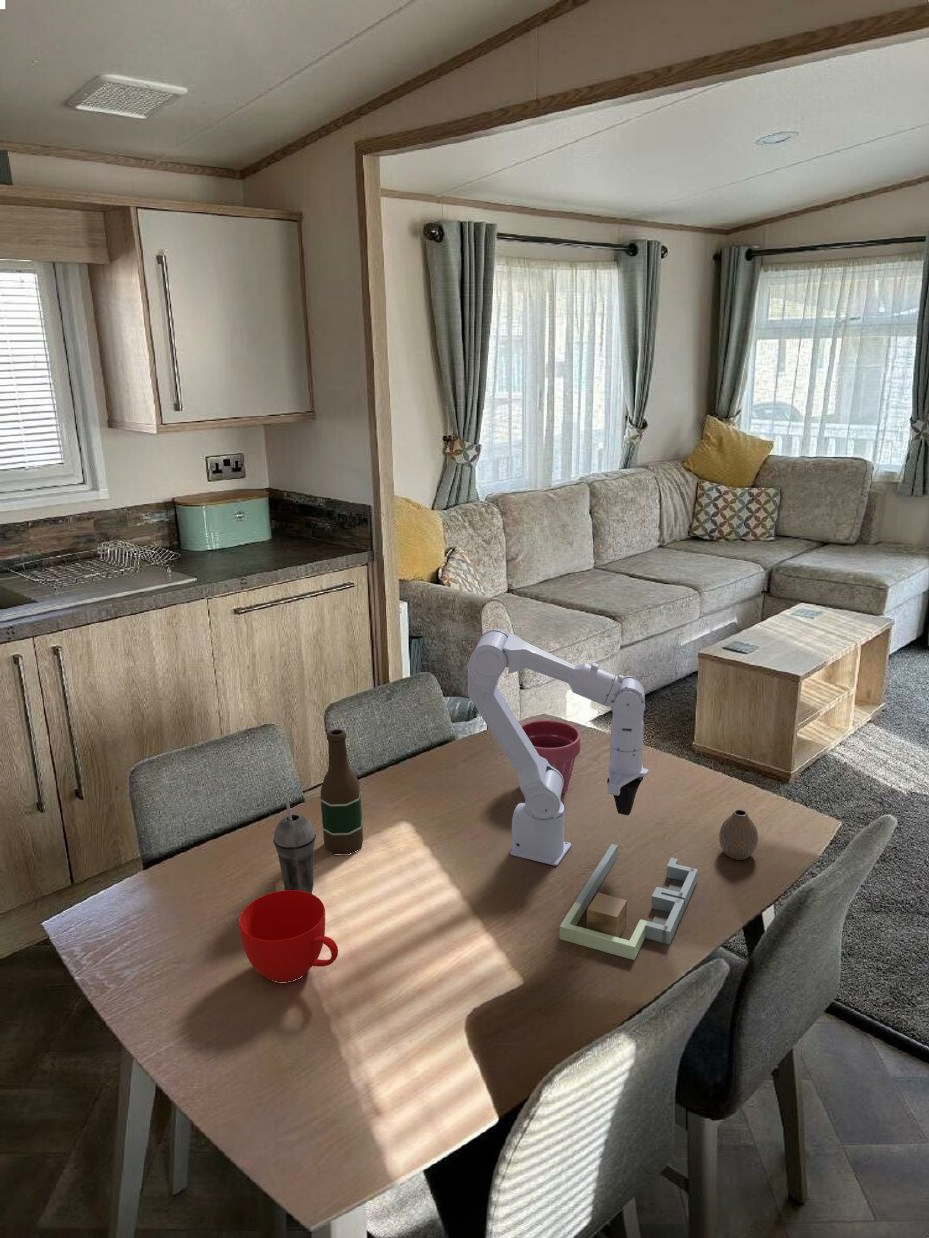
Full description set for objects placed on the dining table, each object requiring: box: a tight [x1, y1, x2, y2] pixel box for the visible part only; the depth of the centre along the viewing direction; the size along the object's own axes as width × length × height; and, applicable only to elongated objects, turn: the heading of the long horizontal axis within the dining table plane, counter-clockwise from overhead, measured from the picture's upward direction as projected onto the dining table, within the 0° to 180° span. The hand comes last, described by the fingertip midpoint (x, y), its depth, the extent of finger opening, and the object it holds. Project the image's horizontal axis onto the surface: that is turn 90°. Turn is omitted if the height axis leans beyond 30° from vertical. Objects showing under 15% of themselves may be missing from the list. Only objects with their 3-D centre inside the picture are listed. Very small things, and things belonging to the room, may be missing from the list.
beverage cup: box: [272, 796, 317, 894], centre depth 156 cm, size 7×7×20 cm
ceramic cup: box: [238, 889, 339, 982], centre depth 138 cm, size 13×17×10 cm
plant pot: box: [520, 719, 582, 795], centre depth 194 cm, size 14×14×13 cm
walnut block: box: [586, 892, 628, 938], centre depth 147 cm, size 5×5×5 cm
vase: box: [718, 808, 759, 861], centre depth 167 cm, size 7×7×9 cm
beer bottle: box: [320, 728, 364, 855], centre depth 171 cm, size 8×8×24 cm
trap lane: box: [559, 843, 699, 961], centre depth 154 cm, size 16×27×2 cm, turn 153°
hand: (624, 812), depth 166 cm, fingers closed
